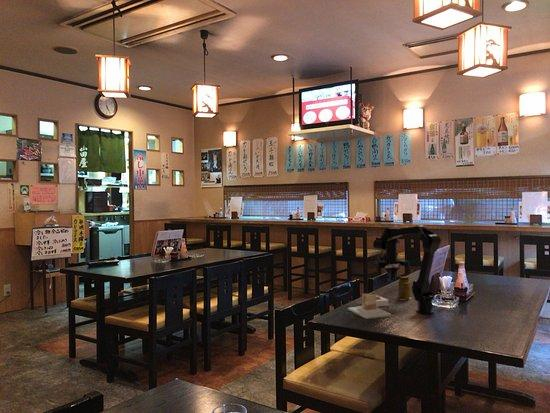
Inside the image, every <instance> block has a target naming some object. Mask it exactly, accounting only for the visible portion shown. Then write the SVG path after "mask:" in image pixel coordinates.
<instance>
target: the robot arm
mask: <svg viewBox="0 0 550 413" xmlns="http://www.w3.org/2000/svg"><path fill="white" fill-rule="evenodd" d="M406 235H407V236H408V235H417V237H418V239H419V240H420V241H421V242H422V243H421V245H422V246H421V247H422V249H423V255H422V260H421V265H420V268H419V274H418V278H417V279H416V280H413V282H412V286H411V289H412V290H411V292H412V294H413V298H414V300H415V301H417V309H416V310H415V313H419V314H421V315H429V314H430V315H431V314H434V313H435V312H434V311H432V300H434V299H435V295H434V293H433V292H432V291H431V284H430V275H431V271H432V265H433V262H434V256H435V254H436V252H437V251H438V249H439V248H440V246H441V242H442V241H441V240H442V239H441V237H440V236H439V235H438V234H436V233H435V232H433V231H432V230H430V229H429V228H427V227H426V226H425V225H415V226H411V227H410V226H409V227H402V228H400V227H386V228H385V229H384V230H383V233H382V234H381V236H379V237H378V236H376V237H375V239H374V241H373V244H372V245H373V248H374V250H379V251H385V252H384V253H383V255H382V254H377V255H376V261H374V262H373V268H376V269H385V271H386V273H387V275H388V279H389V280H390V281H393V280H394V278H395V275H396V274H397V273H398V271H399V269H400V268H401V267H399V266H403V268H406V267H409V266H410V264H409V263H410V262H409V261H408V260H404V259H399V260H397V258H398V257H397V256H399V253H398V251H397V249H398V248H397V246H398V245H397V244H400V243H401V241H400V240H398V238H400V237H402V236H406Z"/></svg>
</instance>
